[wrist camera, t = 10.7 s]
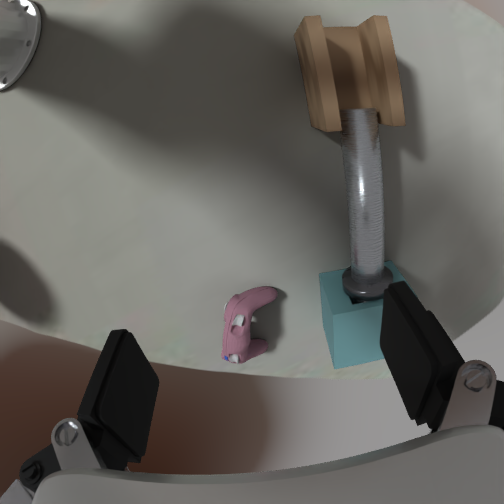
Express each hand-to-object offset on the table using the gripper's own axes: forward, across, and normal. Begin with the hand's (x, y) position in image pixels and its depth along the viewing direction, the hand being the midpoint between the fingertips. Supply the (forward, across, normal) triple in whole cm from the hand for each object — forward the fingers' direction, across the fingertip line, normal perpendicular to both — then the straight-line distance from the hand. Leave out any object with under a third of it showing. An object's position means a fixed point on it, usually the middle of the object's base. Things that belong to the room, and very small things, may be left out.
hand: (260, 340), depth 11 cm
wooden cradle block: (+22, -10, -9) cm, 26 cm away
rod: (+20, -10, +7) cm, 24 cm away
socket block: (+21, -10, +16) cm, 29 cm away
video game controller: (+22, +3, +17) cm, 28 cm away
